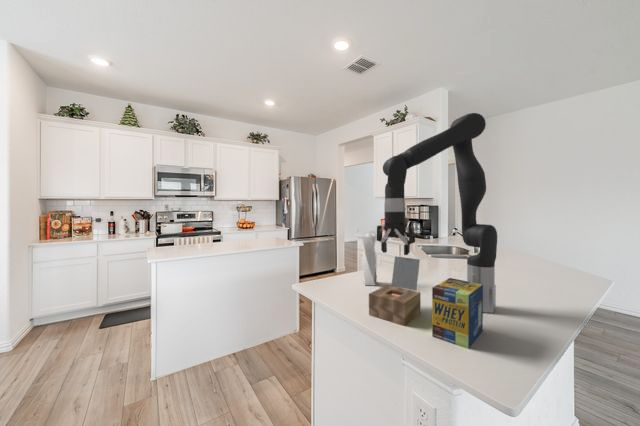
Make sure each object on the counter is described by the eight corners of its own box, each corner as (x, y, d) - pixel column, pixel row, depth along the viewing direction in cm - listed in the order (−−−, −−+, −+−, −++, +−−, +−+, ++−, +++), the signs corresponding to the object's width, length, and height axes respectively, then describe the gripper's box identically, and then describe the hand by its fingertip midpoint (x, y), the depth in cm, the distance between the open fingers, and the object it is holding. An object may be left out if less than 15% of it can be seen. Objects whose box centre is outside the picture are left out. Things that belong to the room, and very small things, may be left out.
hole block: (420, 313, 99) (420, 292, 98) (404, 326, 88) (404, 302, 88) (386, 304, 108) (386, 285, 108) (368, 314, 98) (368, 293, 97)
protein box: (431, 336, 81) (431, 287, 81) (449, 321, 92) (449, 277, 91) (468, 349, 73) (468, 295, 73) (483, 331, 84) (483, 283, 84)
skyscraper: (379, 286, 132) (379, 231, 131) (363, 286, 132) (363, 231, 131) (376, 282, 140) (376, 230, 140) (361, 282, 140) (360, 230, 140)
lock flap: (391, 285, 107) (392, 285, 107) (415, 290, 100) (416, 290, 101) (395, 256, 109) (396, 256, 110) (418, 259, 102) (419, 259, 103)
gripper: (372, 210, 99) (373, 253, 100) (409, 210, 90) (410, 257, 90) (382, 210, 105) (382, 250, 105) (417, 210, 96) (417, 254, 96)
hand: (395, 253), depth 98 cm, fingers open, 8 cm apart
